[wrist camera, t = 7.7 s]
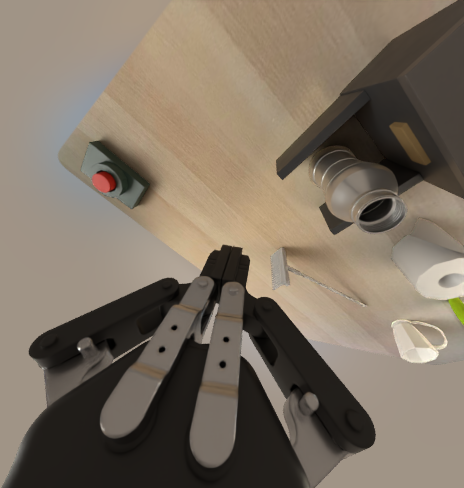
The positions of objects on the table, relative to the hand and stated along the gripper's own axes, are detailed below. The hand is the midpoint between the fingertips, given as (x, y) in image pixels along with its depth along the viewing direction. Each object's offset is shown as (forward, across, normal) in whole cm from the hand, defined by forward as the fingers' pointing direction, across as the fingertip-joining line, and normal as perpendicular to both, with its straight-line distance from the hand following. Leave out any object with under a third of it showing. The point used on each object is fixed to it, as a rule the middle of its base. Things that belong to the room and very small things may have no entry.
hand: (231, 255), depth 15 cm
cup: (+27, -44, +33) cm, 61 cm away
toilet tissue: (+26, -33, +10) cm, 43 cm away
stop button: (+22, +29, +4) cm, 36 cm away
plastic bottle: (+26, -12, -3) cm, 28 cm away
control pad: (+25, +29, +4) cm, 39 cm away
